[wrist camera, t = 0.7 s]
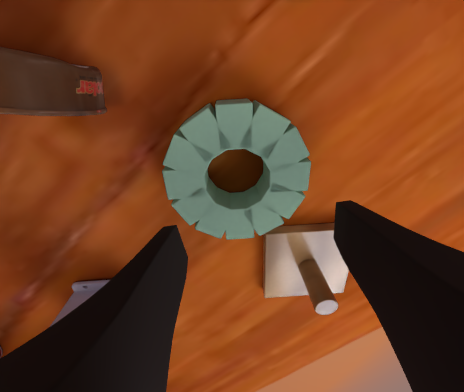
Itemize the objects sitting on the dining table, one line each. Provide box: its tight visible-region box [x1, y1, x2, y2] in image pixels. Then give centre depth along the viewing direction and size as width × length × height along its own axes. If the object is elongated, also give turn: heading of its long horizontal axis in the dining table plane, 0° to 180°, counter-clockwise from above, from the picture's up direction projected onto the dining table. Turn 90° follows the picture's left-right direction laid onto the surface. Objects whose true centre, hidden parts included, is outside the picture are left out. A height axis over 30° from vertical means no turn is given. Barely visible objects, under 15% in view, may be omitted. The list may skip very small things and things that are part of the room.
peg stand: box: [263, 223, 349, 315], centre depth 22 cm, size 9×9×6 cm
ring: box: [162, 99, 311, 239], centre depth 18 cm, size 11×11×3 cm
